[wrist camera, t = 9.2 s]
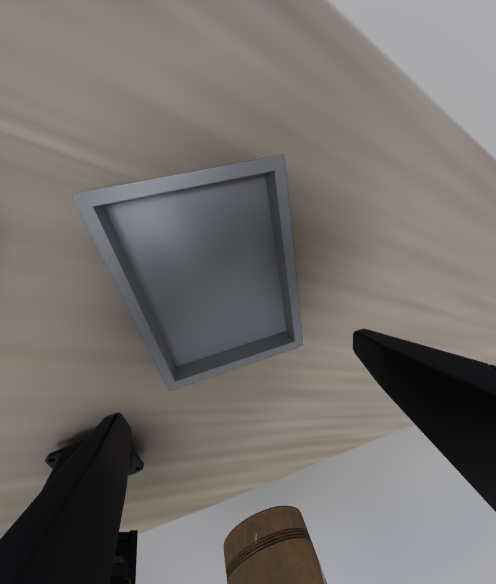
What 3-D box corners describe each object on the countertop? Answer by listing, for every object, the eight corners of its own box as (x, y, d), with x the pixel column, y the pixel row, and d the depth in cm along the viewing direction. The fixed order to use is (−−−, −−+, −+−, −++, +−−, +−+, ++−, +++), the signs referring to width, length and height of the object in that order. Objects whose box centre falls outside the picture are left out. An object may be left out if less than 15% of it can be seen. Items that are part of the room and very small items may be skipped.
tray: (292, 331, 23) (303, 345, 20) (171, 371, 21) (168, 391, 18) (271, 161, 16) (284, 154, 14) (89, 196, 14) (70, 194, 12)
